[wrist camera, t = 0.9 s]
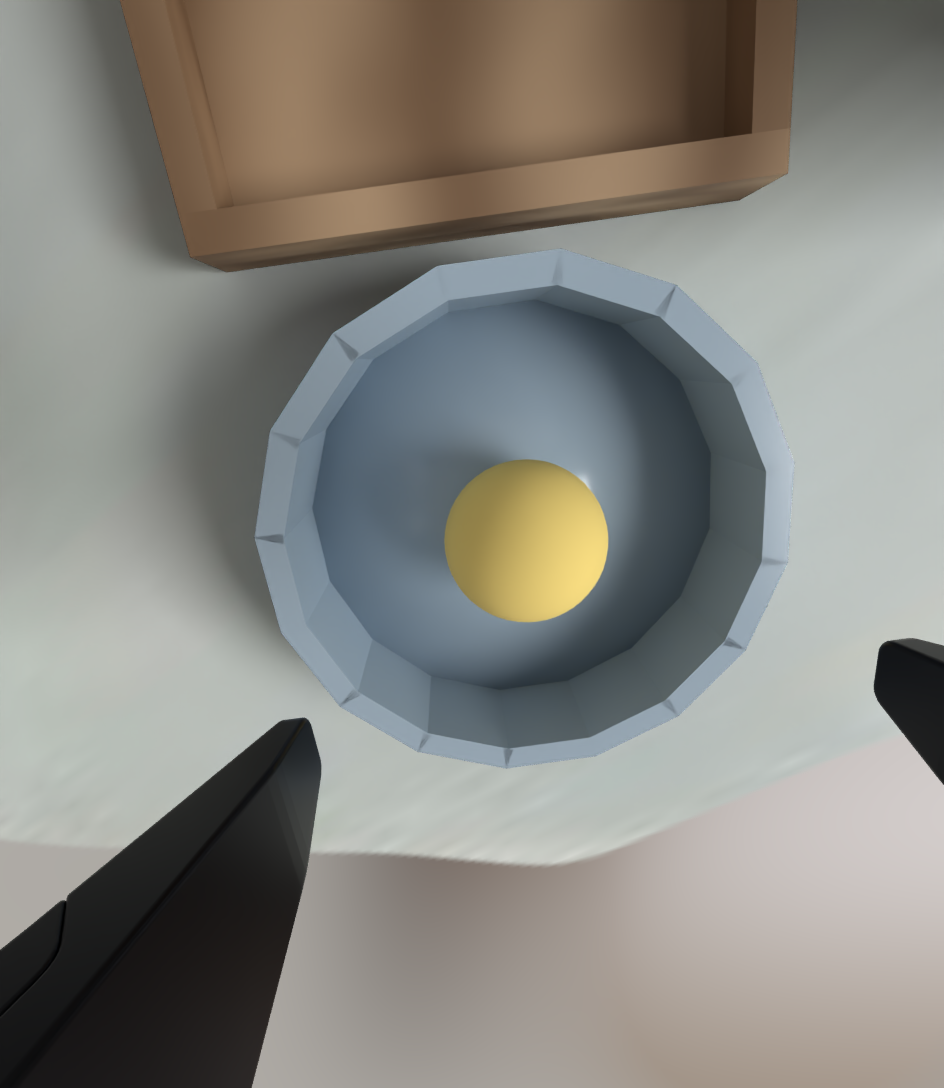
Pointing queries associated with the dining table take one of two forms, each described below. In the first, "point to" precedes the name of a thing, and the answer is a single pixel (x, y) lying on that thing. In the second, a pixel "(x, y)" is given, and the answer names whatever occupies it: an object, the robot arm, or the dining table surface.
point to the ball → (526, 540)
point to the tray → (454, 116)
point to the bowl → (514, 434)
